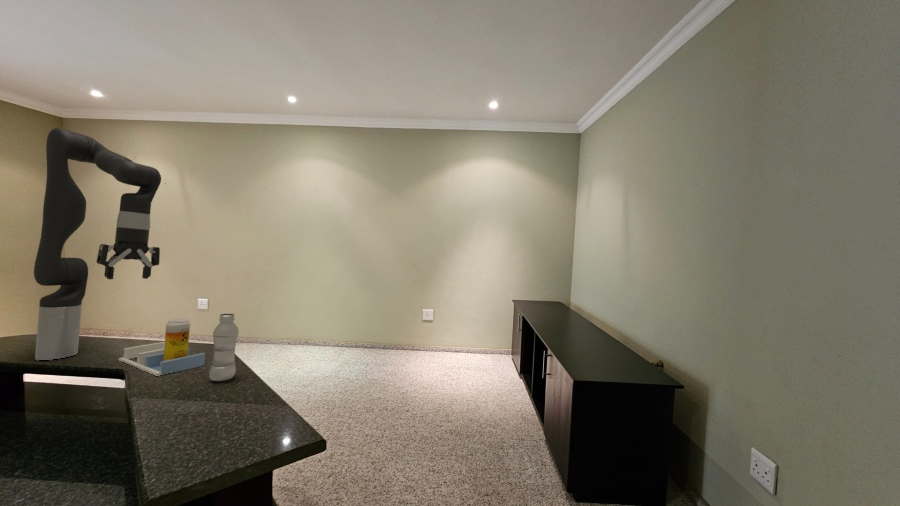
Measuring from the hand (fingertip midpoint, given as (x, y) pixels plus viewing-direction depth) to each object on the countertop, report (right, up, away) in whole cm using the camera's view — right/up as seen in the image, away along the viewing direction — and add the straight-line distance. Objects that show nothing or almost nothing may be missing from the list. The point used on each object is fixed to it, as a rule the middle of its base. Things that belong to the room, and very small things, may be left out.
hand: (128, 278), depth 104 cm
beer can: (+10, -29, +5) cm, 32 cm away
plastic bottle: (+31, -31, -2) cm, 44 cm away
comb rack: (+4, -29, +8) cm, 30 cm away
